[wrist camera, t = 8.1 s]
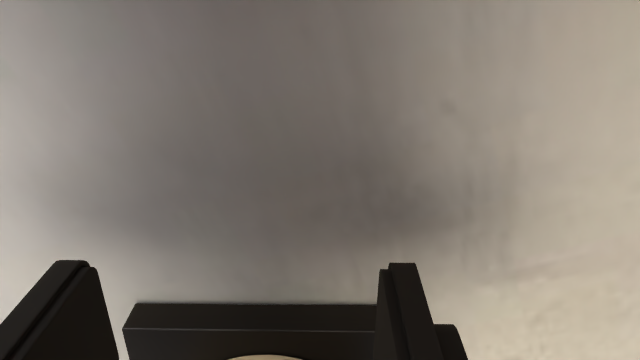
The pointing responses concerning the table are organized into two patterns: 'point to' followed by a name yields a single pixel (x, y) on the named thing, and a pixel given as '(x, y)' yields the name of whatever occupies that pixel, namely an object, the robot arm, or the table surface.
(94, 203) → the table surface
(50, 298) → the robot arm
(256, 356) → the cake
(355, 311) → the bracket
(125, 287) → the table surface
